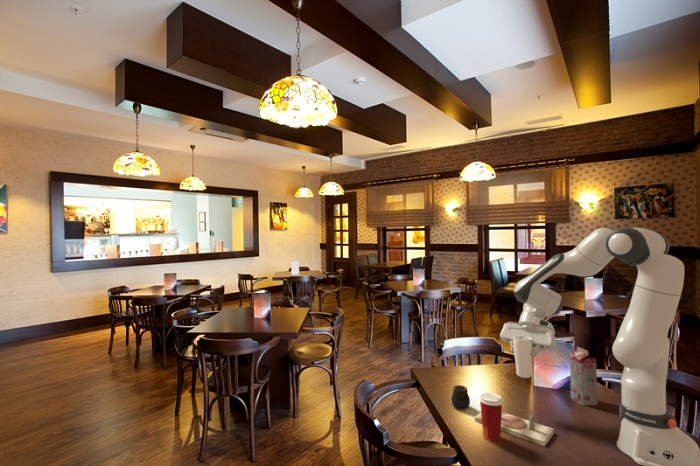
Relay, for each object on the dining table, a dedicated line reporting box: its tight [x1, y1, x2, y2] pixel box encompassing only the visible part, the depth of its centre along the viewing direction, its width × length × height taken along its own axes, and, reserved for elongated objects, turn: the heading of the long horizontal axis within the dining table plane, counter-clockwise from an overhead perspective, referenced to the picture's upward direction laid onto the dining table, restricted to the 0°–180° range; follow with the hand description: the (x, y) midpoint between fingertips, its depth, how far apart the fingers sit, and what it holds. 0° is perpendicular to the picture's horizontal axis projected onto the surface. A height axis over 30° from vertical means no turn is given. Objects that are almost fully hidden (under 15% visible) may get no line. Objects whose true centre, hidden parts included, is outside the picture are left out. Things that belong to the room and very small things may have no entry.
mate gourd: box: [450, 384, 471, 411], centre depth 145 cm, size 7×8×10 cm
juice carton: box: [569, 346, 598, 406], centre depth 150 cm, size 7×7×22 cm
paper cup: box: [478, 392, 504, 443], centre depth 123 cm, size 8×8×14 cm
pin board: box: [474, 411, 555, 447], centre depth 130 cm, size 24×11×6 cm, turn 46°
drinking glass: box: [513, 336, 533, 379], centre depth 141 cm, size 7×7×15 cm
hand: (522, 354), depth 141 cm, fingers closed on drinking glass, 6 cm apart
